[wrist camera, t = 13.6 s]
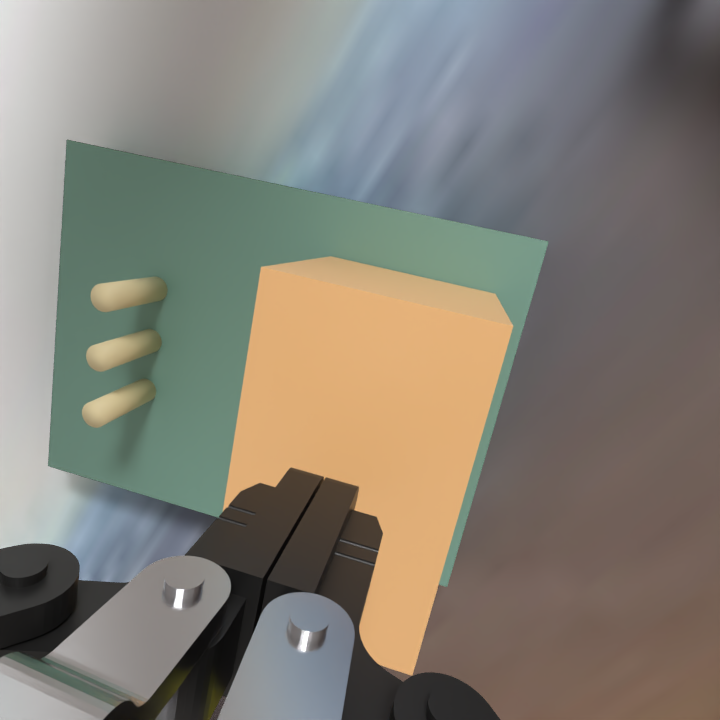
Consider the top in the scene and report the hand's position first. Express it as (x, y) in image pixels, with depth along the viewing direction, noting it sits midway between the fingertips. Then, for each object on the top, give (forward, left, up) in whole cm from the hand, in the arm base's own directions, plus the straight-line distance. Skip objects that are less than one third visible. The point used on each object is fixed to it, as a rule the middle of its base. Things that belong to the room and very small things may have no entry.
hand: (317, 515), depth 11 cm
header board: (+4, 0, -10) cm, 11 cm away
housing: (0, 0, -8) cm, 8 cm away
